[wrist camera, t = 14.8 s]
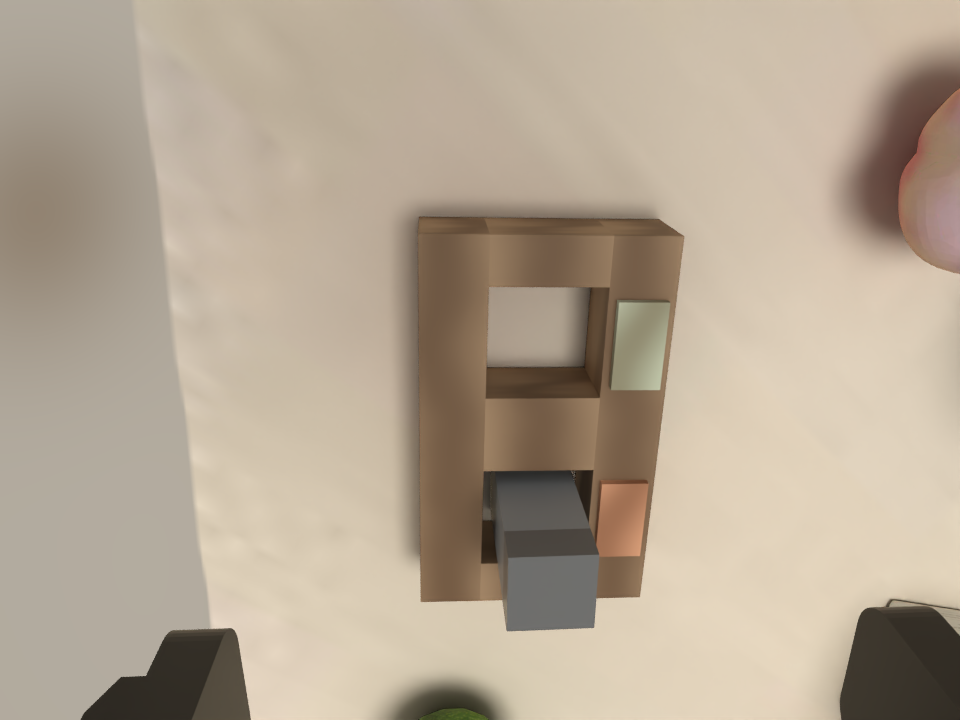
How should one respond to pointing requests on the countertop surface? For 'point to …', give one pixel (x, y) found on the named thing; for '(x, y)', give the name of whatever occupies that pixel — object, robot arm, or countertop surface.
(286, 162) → the countertop surface
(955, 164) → the decorative fruit
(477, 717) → the avocado
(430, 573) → the socket block
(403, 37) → the countertop surface
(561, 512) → the plug
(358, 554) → the countertop surface
